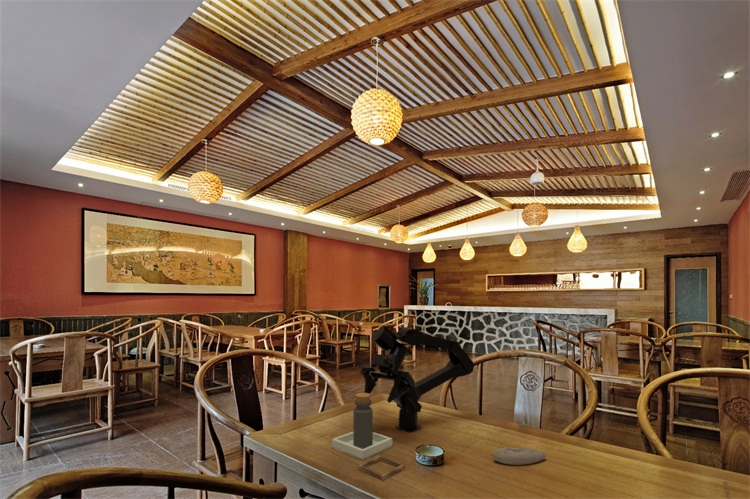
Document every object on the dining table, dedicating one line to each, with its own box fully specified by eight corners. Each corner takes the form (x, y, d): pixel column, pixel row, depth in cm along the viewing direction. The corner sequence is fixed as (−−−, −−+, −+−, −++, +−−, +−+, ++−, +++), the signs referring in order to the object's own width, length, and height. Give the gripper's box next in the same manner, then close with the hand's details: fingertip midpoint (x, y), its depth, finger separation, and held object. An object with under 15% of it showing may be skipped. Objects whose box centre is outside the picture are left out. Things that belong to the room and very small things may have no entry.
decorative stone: (551, 465, 112) (550, 452, 112) (498, 468, 109) (498, 455, 110) (538, 455, 118) (538, 443, 118) (488, 459, 115) (488, 446, 116)
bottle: (365, 450, 119) (366, 398, 120) (349, 446, 122) (349, 395, 123) (376, 444, 124) (376, 393, 125) (360, 440, 127) (360, 391, 128)
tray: (361, 436, 132) (361, 428, 132) (392, 446, 123) (392, 438, 123) (331, 447, 122) (331, 439, 123) (362, 460, 114) (362, 451, 114)
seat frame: (380, 459, 115) (380, 455, 115) (405, 468, 109) (405, 464, 109) (357, 469, 108) (357, 465, 108) (383, 480, 102) (383, 476, 102)
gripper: (362, 342, 140) (342, 381, 130) (408, 346, 129) (390, 389, 119) (376, 361, 146) (358, 400, 136) (422, 367, 135) (405, 410, 125)
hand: (376, 399), depth 129 cm, fingers open, 9 cm apart
